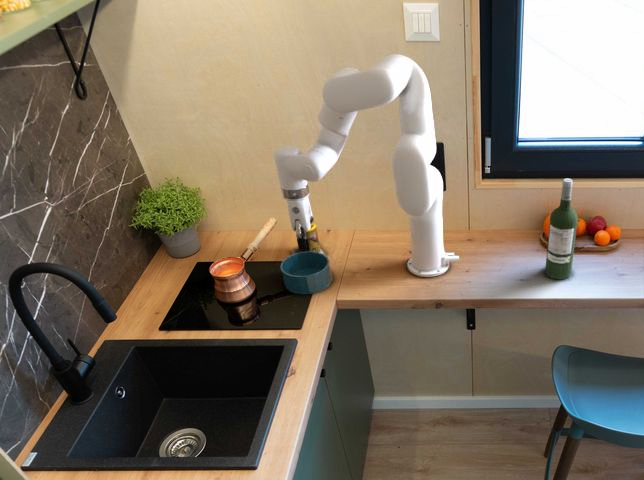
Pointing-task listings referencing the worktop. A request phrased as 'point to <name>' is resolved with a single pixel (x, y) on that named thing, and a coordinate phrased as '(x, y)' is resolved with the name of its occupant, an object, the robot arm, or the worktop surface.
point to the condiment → (311, 239)
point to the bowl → (306, 272)
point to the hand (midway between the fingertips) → (306, 243)
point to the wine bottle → (562, 236)
